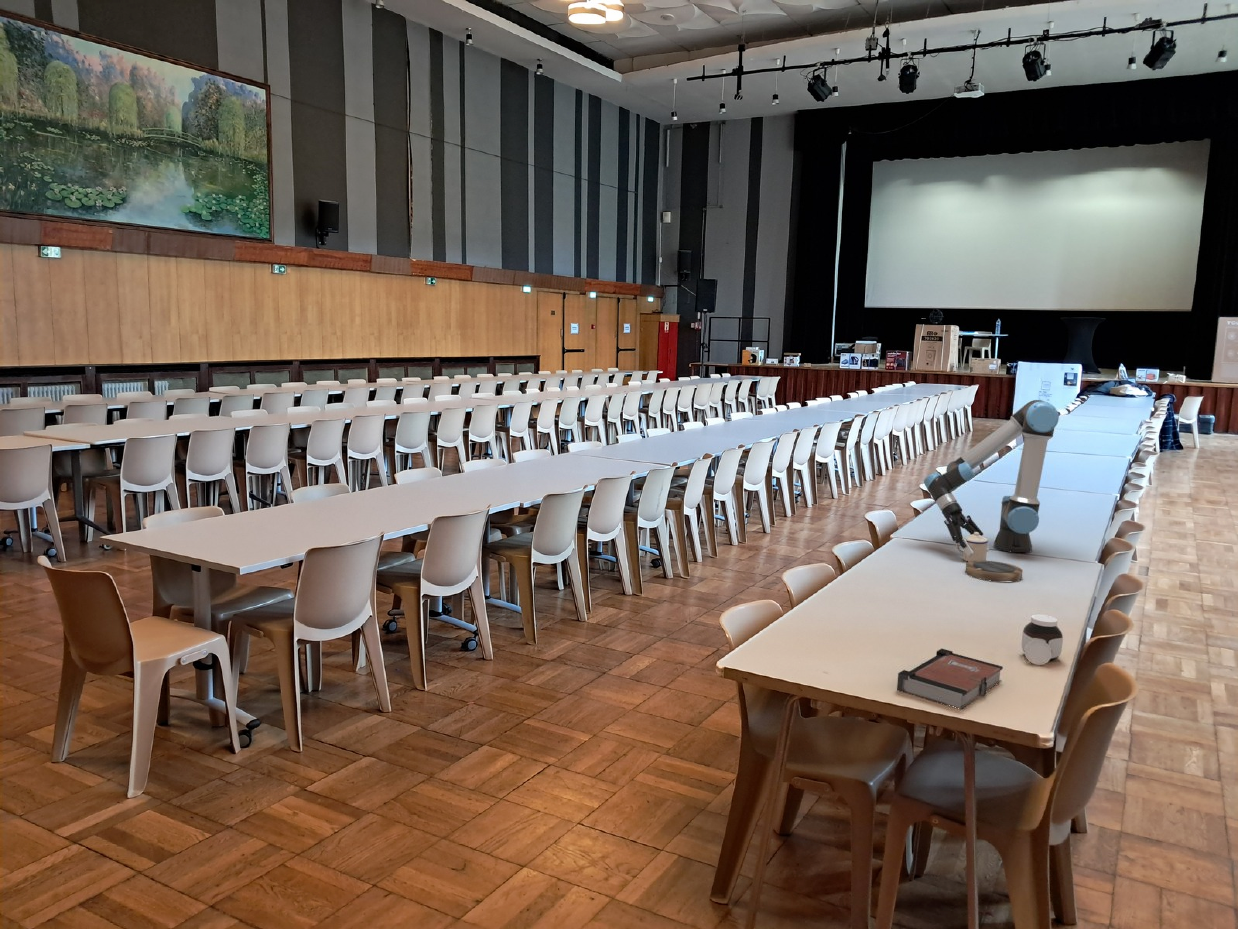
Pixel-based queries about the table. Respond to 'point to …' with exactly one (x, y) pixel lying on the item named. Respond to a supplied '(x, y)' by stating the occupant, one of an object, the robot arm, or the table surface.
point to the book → (950, 679)
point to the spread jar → (1042, 639)
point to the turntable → (993, 571)
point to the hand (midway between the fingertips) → (978, 553)
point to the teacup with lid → (975, 547)
